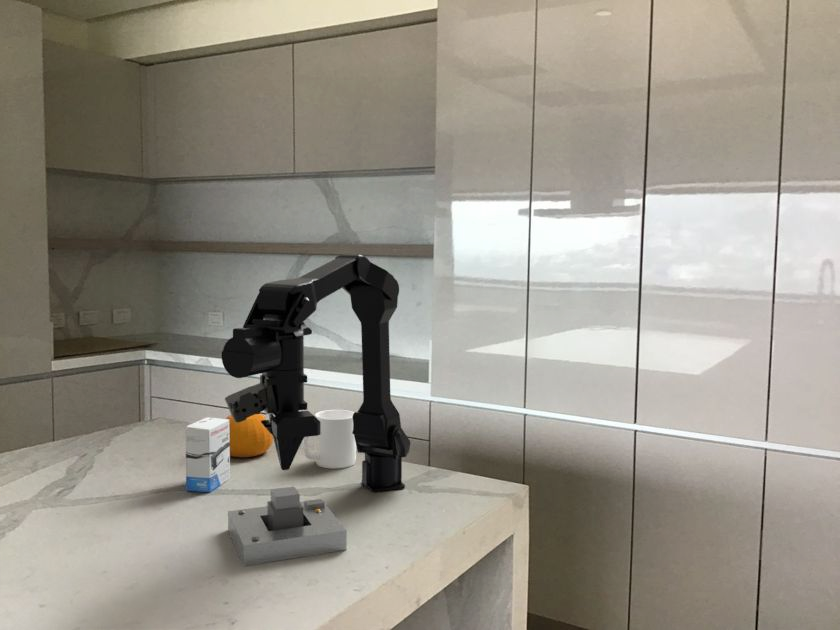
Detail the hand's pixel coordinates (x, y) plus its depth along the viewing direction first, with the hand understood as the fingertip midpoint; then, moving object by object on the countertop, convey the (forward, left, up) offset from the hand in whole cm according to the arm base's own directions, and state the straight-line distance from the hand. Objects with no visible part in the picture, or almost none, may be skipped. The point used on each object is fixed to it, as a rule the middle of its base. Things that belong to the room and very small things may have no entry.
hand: (284, 469), depth 113 cm
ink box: (+7, -30, -11) cm, 33 cm away
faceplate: (0, 0, -11) cm, 11 cm away
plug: (0, 0, -10) cm, 10 cm away
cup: (-17, -34, -11) cm, 39 cm away
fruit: (-3, -48, -11) cm, 49 cm away
